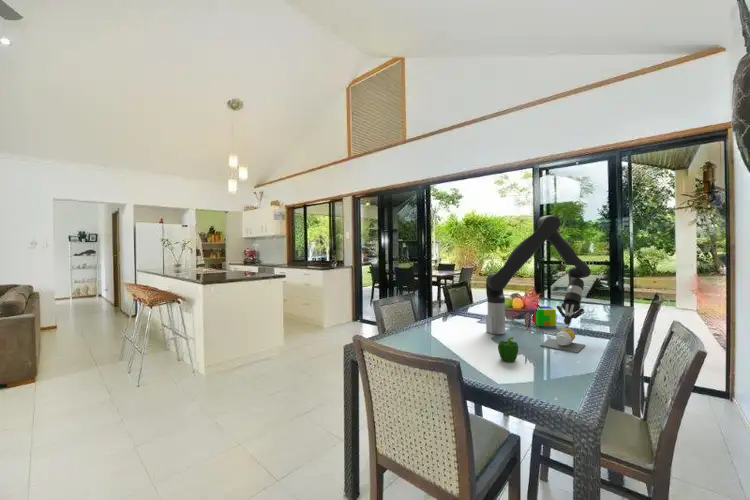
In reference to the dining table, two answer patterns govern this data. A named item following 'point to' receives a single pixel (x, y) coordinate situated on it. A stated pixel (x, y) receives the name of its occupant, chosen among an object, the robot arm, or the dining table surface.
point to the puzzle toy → (545, 316)
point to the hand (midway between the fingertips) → (566, 323)
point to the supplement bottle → (565, 336)
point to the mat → (569, 348)
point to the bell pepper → (508, 350)
